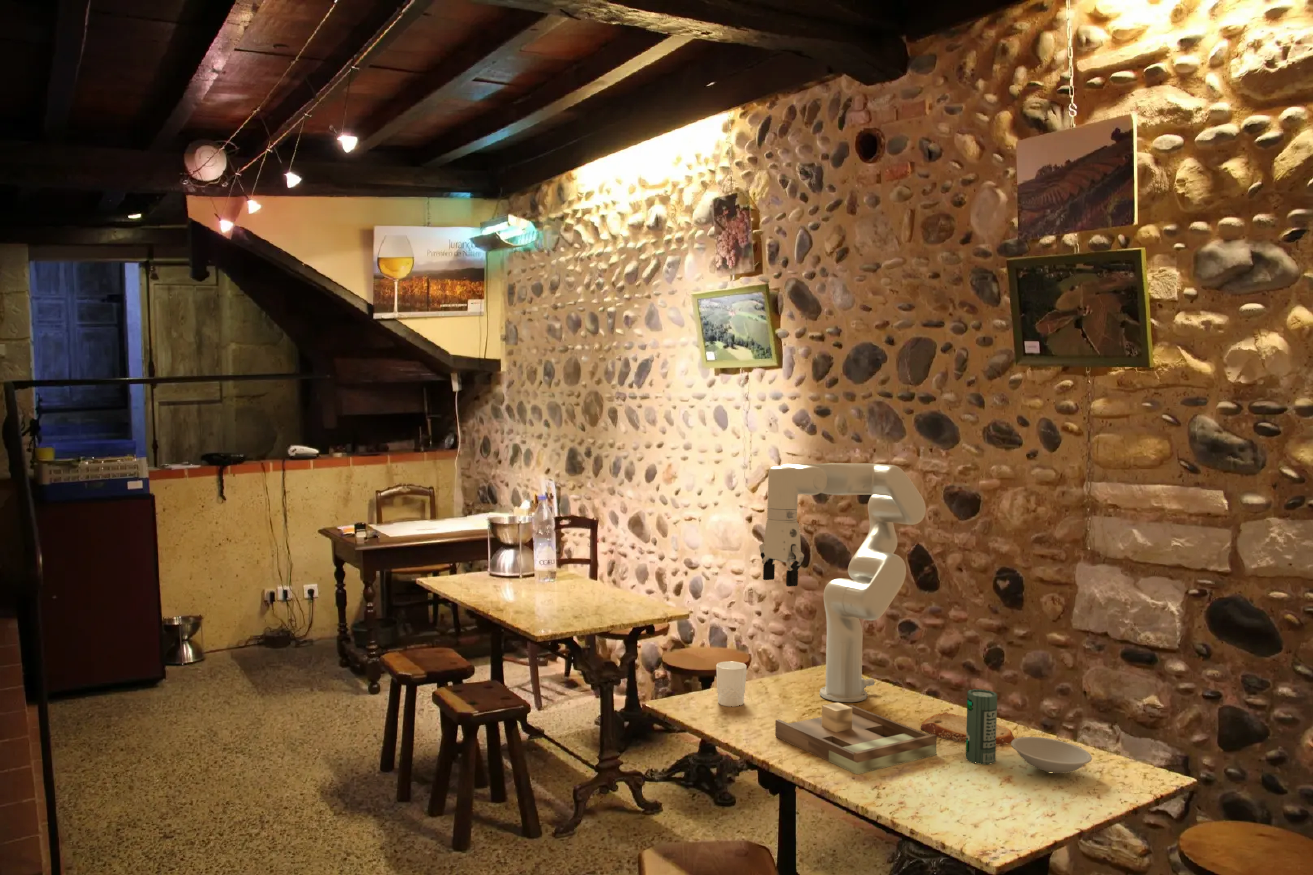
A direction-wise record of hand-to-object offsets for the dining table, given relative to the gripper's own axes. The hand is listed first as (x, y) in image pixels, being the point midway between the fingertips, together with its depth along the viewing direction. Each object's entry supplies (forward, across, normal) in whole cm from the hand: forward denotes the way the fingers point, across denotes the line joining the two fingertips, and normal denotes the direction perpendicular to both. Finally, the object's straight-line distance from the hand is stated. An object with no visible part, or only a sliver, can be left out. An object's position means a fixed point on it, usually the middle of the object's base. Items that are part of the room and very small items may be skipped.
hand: (780, 582), depth 265 cm
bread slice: (+34, -34, -31) cm, 57 cm away
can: (+33, -48, -21) cm, 62 cm away
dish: (+33, -61, -28) cm, 75 cm away
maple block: (+31, -22, -1) cm, 38 cm away
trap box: (+33, -28, -2) cm, 44 cm away
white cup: (+34, +13, +5) cm, 36 cm away
